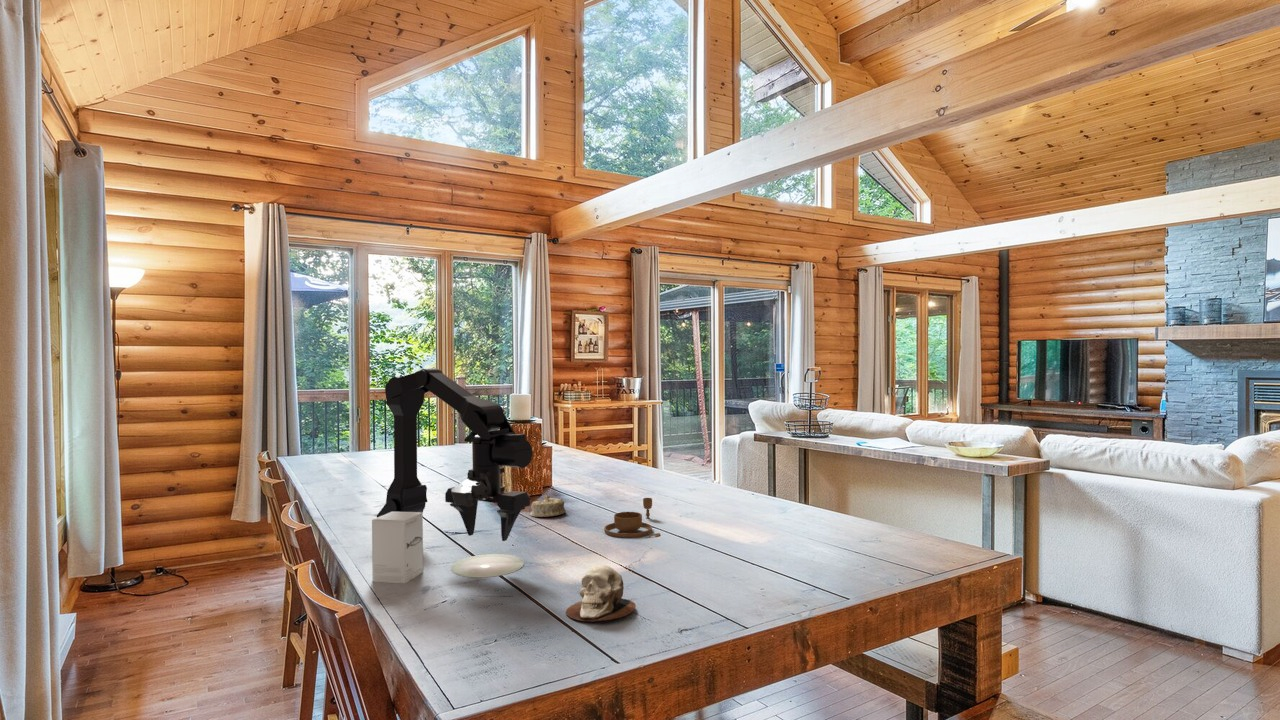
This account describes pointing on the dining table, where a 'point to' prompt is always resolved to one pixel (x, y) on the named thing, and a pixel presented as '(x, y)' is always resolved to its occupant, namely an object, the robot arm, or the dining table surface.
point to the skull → (601, 596)
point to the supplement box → (397, 547)
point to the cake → (548, 507)
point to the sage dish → (487, 565)
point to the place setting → (631, 523)
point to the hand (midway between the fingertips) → (487, 538)
